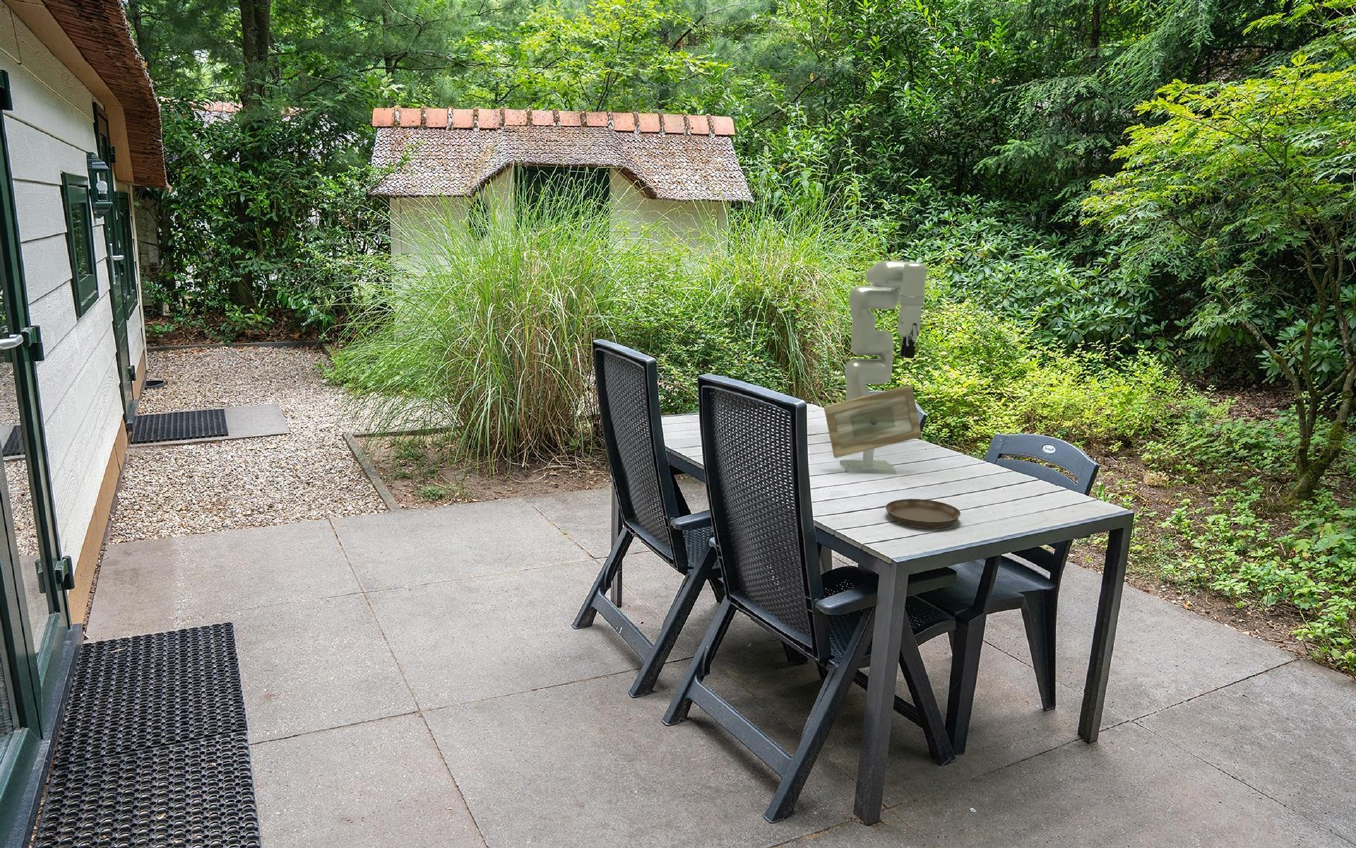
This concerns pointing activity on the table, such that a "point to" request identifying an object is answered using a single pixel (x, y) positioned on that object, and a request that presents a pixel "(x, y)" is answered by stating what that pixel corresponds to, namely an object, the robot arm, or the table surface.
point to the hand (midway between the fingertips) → (907, 356)
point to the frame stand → (868, 465)
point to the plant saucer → (922, 513)
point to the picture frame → (872, 421)
